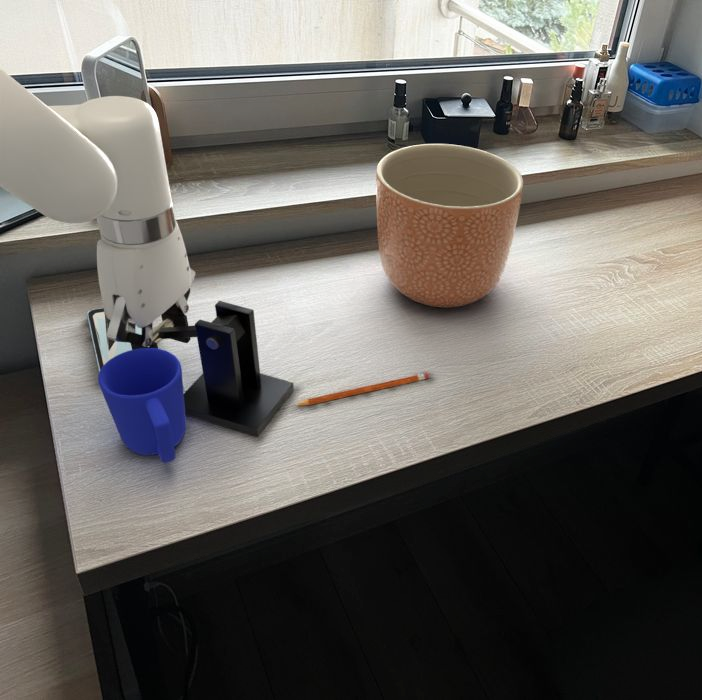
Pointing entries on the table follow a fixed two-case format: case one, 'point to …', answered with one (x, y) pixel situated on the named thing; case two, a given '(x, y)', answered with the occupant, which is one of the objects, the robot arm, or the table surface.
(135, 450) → the mug
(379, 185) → the planter
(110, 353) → the smartphone
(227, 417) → the bracket
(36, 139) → the robot arm
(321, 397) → the pencil
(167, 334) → the lever
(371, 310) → the table surface
